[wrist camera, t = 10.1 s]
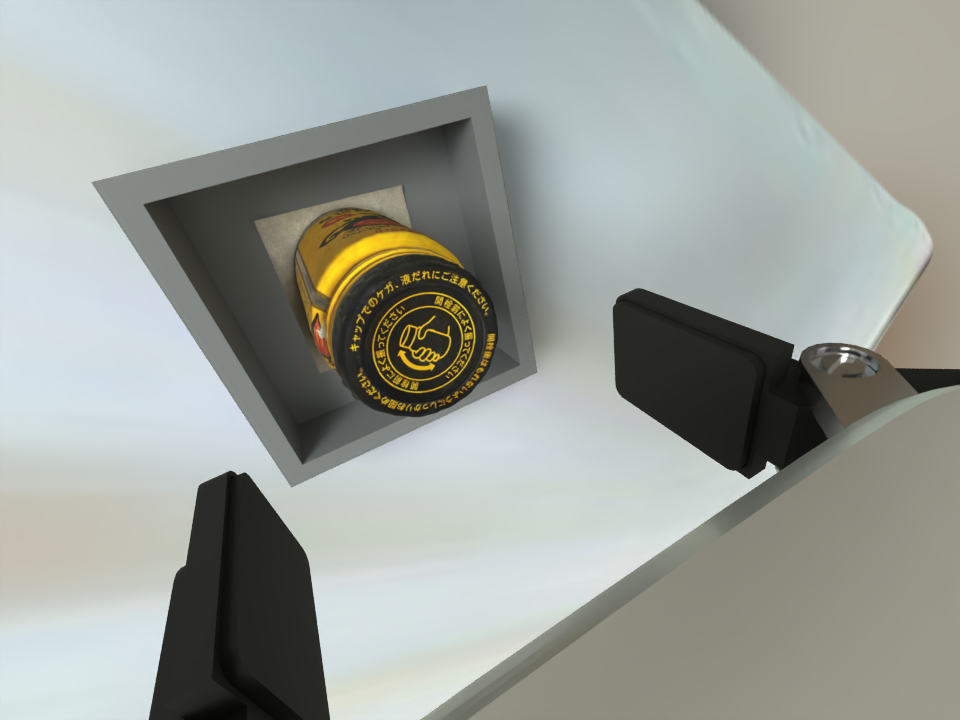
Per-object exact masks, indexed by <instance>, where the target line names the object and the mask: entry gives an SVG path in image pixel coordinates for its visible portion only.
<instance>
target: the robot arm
mask: <svg viewBox="0 0 960 720" xmlns="http://www.w3.org/2000/svg"><path fill="white" fill-rule="evenodd" d="M613 328H614V355H615V382H616V388H617V391H618V393H619V394H620V395H621V396H622V397H623V398H624V399H626V400H627V401H629V402H630V403H632V404H633V405H635V406H636V407H637V408H639V409H640V410H642V411H643V412H645V413H646V414H648V415H649V416H651V417H652V418H654V419H655V420H657V421H658V422H659V423H661V424H662V425H664V426H665V427H667V428H668V429H670V430H671V431H673V432H674V433H676V434H677V435H678V436H680V437H681V438H683V439H684V440H686V441H687V442H689V443H690V444H692V445H693V446H695V447H696V448H698V449H699V450H700V451H702V452H703V453H705V454H706V455H708V456H709V457H711V458H712V459H714V460H715V461H717V462H718V463H720V464H721V465H722V466H724V467H725V468H727V469H729V470H733V471H734V470H736V471H738V472H739V473H741V474H742V475H744V476H745V477H747V478H748V479H750V478H752V477H753V476H755V475H756V474H758V473H759V472H761V471H762V470H764V469H765V467H766V463H767V461H768V462H770V463H772V464H773V465H775V469H776V471H777V473H776V474H775V475H773V476H772V477H771V478H769V479H768V480H766V481H765V482H763V483H762V484H760V485H759V486H757V487H756V488H754V489H753V490H751V491H750V492H748V493H747V494H745V495H744V496H743V497H741V498H740V499H738V500H737V501H735V502H734V503H732V504H731V505H729V506H728V507H726V508H725V509H723V510H722V511H720V512H719V513H717V514H716V515H715V516H713V517H712V518H710V519H709V520H707V521H706V522H704V523H703V524H701V525H700V526H698V527H697V528H696V529H694V530H693V531H691V532H690V533H688V534H687V535H685V536H684V537H682V538H681V539H679V540H678V541H677V542H675V543H674V544H672V545H671V546H669V547H668V548H666V549H665V550H663V551H662V552H661V553H659V554H658V555H656V556H655V557H653V558H652V559H650V560H649V561H647V562H646V563H645V564H643V565H642V566H640V567H639V568H637V569H636V570H634V571H633V572H631V573H630V574H629V575H627V576H626V577H624V578H623V579H621V580H620V581H618V582H617V583H615V584H614V585H613V586H611V587H610V588H608V589H607V590H605V591H604V592H602V593H601V594H599V595H598V596H597V597H595V598H594V599H592V600H591V601H589V602H588V603H586V604H585V605H584V606H582V607H581V608H579V609H578V610H576V611H575V612H573V613H572V614H571V615H569V616H568V617H566V618H565V619H563V620H562V621H560V622H559V623H558V624H556V625H555V626H553V627H552V628H550V629H549V630H547V631H546V632H545V633H543V634H542V635H540V636H539V637H537V638H536V639H535V640H533V641H532V642H530V643H529V644H527V645H526V646H524V647H523V648H522V649H520V650H519V651H517V652H516V653H514V654H513V655H511V656H510V657H509V658H507V659H506V660H504V661H503V662H501V663H500V664H499V665H497V666H496V667H494V668H493V669H491V670H490V671H488V672H487V673H486V674H484V675H483V676H481V677H480V678H478V679H477V680H475V681H474V682H473V683H471V684H470V685H468V686H467V687H465V688H464V689H463V690H461V691H460V692H458V693H457V694H456V695H454V696H453V697H451V698H450V699H449V700H447V701H446V702H444V703H443V704H442V705H440V706H439V707H438V708H436V709H435V710H433V711H432V712H431V713H429V714H428V715H426V716H425V717H424V718H422V719H421V720H960V369H905V368H903V369H902V368H901V369H900V368H894V367H893V366H892V365H891V364H890V363H889V362H888V361H887V360H886V359H885V358H884V357H882V356H881V355H880V354H878V353H875V352H873V351H871V350H869V349H866V348H863V347H859V346H856V345H850V344H844V343H823V344H816V345H813V346H810V347H808V348H806V349H805V350H803V351H802V353H801V356H800V359H799V361H797V360H794V359H792V358H791V357H792V353H793V349H794V345H793V344H791V343H788V342H785V341H783V340H780V339H777V338H774V337H772V336H769V335H766V334H764V333H761V332H758V331H755V330H753V329H750V328H747V327H745V326H742V325H739V324H736V323H734V322H731V321H728V320H726V319H723V318H720V317H718V316H715V315H712V314H709V313H707V312H704V311H701V310H699V309H696V308H693V307H690V306H688V305H685V304H682V303H680V302H677V301H674V300H671V299H669V298H666V297H663V296H661V295H658V294H655V293H653V292H650V291H647V290H644V289H641V288H637V289H634V290H632V291H630V292H628V293H625V294H623V295H621V296H619V297H618V298H617V300H616V304H615V305H614V307H613ZM149 720H330V715H329V708H328V701H327V693H326V686H325V678H324V671H323V663H322V656H321V649H320V641H319V634H318V626H317V619H316V612H315V604H314V597H313V589H312V582H311V575H310V567H309V562H308V559H307V556H306V553H305V551H304V550H303V548H302V547H301V545H300V544H299V543H298V541H297V540H296V539H295V537H294V536H293V534H292V533H291V532H290V530H289V529H288V528H287V526H286V525H285V524H284V522H283V521H282V520H281V518H280V517H279V515H278V514H277V513H276V511H275V510H274V509H273V507H272V506H271V505H270V503H269V502H268V501H267V499H266V498H265V496H264V495H263V494H262V492H261V491H260V490H259V488H258V487H257V486H256V484H255V483H254V482H253V480H252V479H251V478H250V476H249V475H248V474H247V473H242V474H239V475H237V474H236V473H235V472H233V471H229V472H226V473H224V474H222V475H220V476H217V477H215V478H213V479H211V480H209V481H206V482H204V483H202V484H201V485H199V488H198V492H197V498H196V505H195V511H194V517H193V524H192V530H191V536H190V543H189V549H188V555H187V561H186V566H184V567H182V568H180V570H179V571H178V572H177V573H176V576H175V579H174V583H173V589H172V594H171V600H170V605H169V611H168V616H167V622H166V627H165V633H164V638H163V644H162V650H161V655H160V661H159V666H158V672H157V677H156V683H155V688H154V694H153V699H152V705H151V711H150V716H149Z"/></svg>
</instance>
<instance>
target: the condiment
mask: <svg viewBox="0 0 960 720" xmlns="http://www.w3.org/2000/svg"><path fill="white" fill-rule="evenodd" d="M254 222H255V225H256V227H257V229H258V232H259V234H260V236H261V238H262V241H263V243H264V245H265V248H266V250H267V252H268V254H269V257H270V259H271V261H272V264H273V266H274V268H275V271H276V273H277V275H278V277H279V280H280V282H281V284H282V287H283V289H284V291H285V294H286V296H287V298H288V301H289V303H290V306H291V307H292V310H293V312H294V315H295V317H296V319H297V321H298V324H299V326H300V328H301V331H302V333H303V335H304V337H305V340H306V343H307V345H308V347H309V349H310V351H311V354H312V356H313V359H314V361H315V363H316V365H317V368H318V370H319V372H320V373H323V372H325V371H328V370H331V369H333V370H334V371H336V372H337V373H338V374H339V376H340V377H341V379H342V383H343V385H344V386H345V387H346V388H348V389H349V390H350V391H351V393H352V396H353V397H354V399H356V400H360V401H361V402H362V403H363V404H364V405H366V406H368V407H369V408H371V409H373V410H375V411H378V412H382V413H387V414H391V415H394V416H406V417H424V416H427V415H431V414H434V413H437V412H439V411H441V410H444V409H447V408H450V407H452V406H453V405H455V404H456V403H458V402H459V401H460V400H462V399H463V398H465V397H467V396H468V395H469V394H470V393H471V392H472V391H473V390H474V388H475V387H476V386H477V385H478V384H479V382H480V381H481V380H482V379H483V377H484V376H485V374H486V373H487V371H488V369H489V368H490V365H491V361H492V358H493V355H494V352H495V348H496V345H497V343H498V326H497V315H496V313H495V310H494V305H493V302H492V300H491V298H490V296H489V295H488V293H487V292H486V291H485V290H484V289H483V287H482V285H481V282H480V281H479V280H477V279H476V278H475V277H474V276H473V275H471V273H470V272H469V271H467V270H466V269H464V268H463V266H462V265H461V264H460V262H459V261H458V259H457V258H456V257H455V256H454V255H453V254H452V253H451V252H450V251H449V250H448V249H447V248H445V247H444V246H443V245H441V244H439V243H438V242H437V241H436V240H434V239H433V238H432V237H429V236H427V235H425V234H423V233H421V232H418V231H415V230H412V226H411V222H410V218H409V213H408V210H407V206H406V202H405V198H404V194H403V189H402V185H399V186H395V187H391V188H387V189H383V190H378V191H374V192H370V193H366V194H362V195H357V196H353V197H349V198H345V199H341V200H337V201H332V202H329V203H324V204H320V205H316V206H312V207H308V208H304V209H300V210H296V211H291V212H289V213H284V214H280V215H276V216H272V217H268V218H263V219H259V220H255V221H254Z"/></svg>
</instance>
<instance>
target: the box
mask: <svg viewBox="0 0 960 720" xmlns="http://www.w3.org/2000/svg"><path fill="white" fill-rule="evenodd" d="M92 184H93V185H94V187H95V188H96V190H97V191H98V193H99V195H100V196H101V198H102V199H103V201H104V202H105V204H106V205H107V207H108V208H109V210H110V211H111V213H112V214H113V216H114V217H115V219H116V220H117V222H118V224H119V225H120V227H121V228H122V230H123V231H124V233H125V234H126V236H127V237H128V239H129V240H130V242H131V243H132V245H133V246H134V248H135V249H136V251H137V253H138V254H139V256H140V257H141V259H142V260H143V262H144V263H145V265H146V266H147V268H148V269H149V271H150V272H151V274H152V275H153V277H154V278H155V280H156V281H157V283H158V285H159V286H160V288H161V289H162V291H163V292H164V294H165V295H166V297H167V298H168V300H169V301H170V303H171V304H172V306H173V307H174V309H175V310H176V312H177V314H178V315H179V317H180V318H181V320H182V321H183V323H184V324H185V326H186V327H187V329H188V330H189V332H190V333H191V335H192V336H193V338H194V339H195V341H196V343H197V344H198V346H199V347H200V349H201V350H202V352H203V353H204V355H205V356H206V358H207V359H208V361H209V362H210V364H211V365H212V367H213V368H214V370H215V372H216V373H217V375H218V376H219V378H220V379H221V381H222V382H223V384H224V385H225V387H226V388H227V390H228V391H229V393H230V394H231V396H232V397H233V399H234V400H235V402H236V404H237V405H238V407H239V408H240V410H241V411H242V413H243V414H244V416H245V417H246V419H247V420H248V422H249V423H250V425H251V426H252V428H253V429H254V431H255V433H256V434H257V436H258V437H259V439H260V440H261V442H262V443H263V445H264V446H265V448H266V449H267V451H268V452H269V454H270V455H271V457H272V458H273V460H274V462H275V463H276V465H277V466H278V468H279V469H280V471H281V472H282V474H283V475H284V477H285V478H286V480H287V481H288V483H289V484H290V486H291V487H293V486H296V485H298V484H300V483H302V482H304V481H306V480H308V479H310V478H313V477H315V476H317V475H319V474H321V473H323V472H325V471H328V470H330V469H332V468H334V467H336V466H338V465H340V464H342V463H345V462H347V461H349V460H351V459H353V458H355V457H357V456H360V455H362V454H364V453H366V452H368V451H370V450H372V449H374V448H377V447H379V446H381V445H383V444H385V443H387V442H389V441H392V440H394V439H396V438H398V437H400V436H402V435H404V434H407V433H409V432H411V431H413V430H415V429H417V428H419V427H421V426H424V425H426V424H428V423H430V422H432V421H434V420H436V419H439V418H441V417H443V416H445V415H447V414H449V413H451V412H453V411H456V410H458V409H460V408H462V407H464V406H466V405H468V404H471V403H473V402H475V401H477V400H479V399H481V398H483V397H485V396H488V395H490V394H492V393H494V392H496V391H498V390H500V389H503V388H505V387H507V386H509V385H511V384H513V383H515V382H517V381H520V380H522V379H524V378H526V377H528V376H530V375H532V374H535V373H537V367H536V361H535V356H534V350H533V344H532V339H531V333H530V328H529V322H528V316H527V311H526V305H525V299H524V294H523V288H522V283H521V277H520V271H519V266H518V260H517V254H516V249H515V243H514V238H513V232H512V226H511V221H510V215H509V209H508V204H507V198H506V193H505V187H504V181H503V176H502V170H501V164H500V159H499V153H498V148H497V142H496V136H495V131H494V125H493V119H492V114H491V108H490V102H489V97H488V91H487V86H482V87H478V88H474V89H470V90H466V91H462V92H458V93H453V94H449V95H445V96H441V97H437V98H433V99H429V100H425V101H421V102H417V103H413V104H409V105H405V106H400V107H396V108H392V109H388V110H384V111H380V112H376V113H372V114H368V115H364V116H360V117H356V118H352V119H348V120H343V121H339V122H335V123H331V124H327V125H323V126H319V127H315V128H311V129H307V130H303V131H299V132H295V133H290V134H286V135H282V136H278V137H274V138H270V139H266V140H262V141H258V142H254V143H250V144H246V145H242V146H237V147H233V148H229V149H225V150H221V151H217V152H213V153H209V154H205V155H201V156H197V157H193V158H189V159H184V160H180V161H176V162H172V163H168V164H164V165H160V166H156V167H152V168H148V169H144V170H140V171H136V172H131V173H127V174H123V175H119V176H115V177H111V178H107V179H103V180H99V181H95V182H92ZM399 185H402V189H403V194H404V198H405V202H406V206H407V210H408V213H409V218H410V222H411V226H412V230H415V231H418V232H421V233H423V234H425V235H427V236H429V237H432V238H433V239H434V240H436V241H437V242H438V243H439V244H441V245H443V246H444V247H445V248H447V249H448V250H449V251H450V252H451V253H452V254H453V255H454V256H455V257H456V258H457V259H458V261H459V262H460V264H461V265H462V266H463V268H464V269H466V270H467V271H469V272H470V273H471V275H473V276H474V277H475V278H476V279H477V280H479V281H480V282H481V285H482V287H483V289H484V290H485V291H486V292H487V293H488V295H489V296H490V298H491V300H492V302H493V305H494V310H495V313H496V315H497V326H498V343H497V345H496V348H495V352H494V355H493V358H492V361H491V365H490V368H489V369H488V371H487V373H486V374H485V376H484V377H483V379H482V380H481V381H480V382H479V384H478V385H477V386H476V387H475V388H474V390H473V391H472V392H471V393H470V394H469V395H468V396H467V397H465V398H463V399H462V400H460V401H459V402H458V403H456V404H455V405H453V406H452V407H450V408H447V409H444V410H441V411H439V412H437V413H434V414H431V415H427V416H424V417H406V416H394V415H391V414H387V413H382V412H378V411H375V410H373V409H371V408H369V407H368V406H366V405H364V404H363V403H362V402H361V401H360V400H356V399H354V397H353V396H352V393H351V391H350V390H349V389H348V388H346V387H345V386H344V385H343V383H342V379H341V377H340V376H339V374H338V373H337V372H336V371H334V370H333V369H331V370H328V371H325V372H323V373H320V372H319V370H318V368H317V365H316V363H315V361H314V359H313V356H312V354H311V351H310V349H309V347H308V345H307V343H306V340H305V337H304V335H303V333H302V331H301V328H300V326H299V324H298V321H297V319H296V317H295V315H294V312H293V310H292V307H291V306H290V303H289V301H288V298H287V296H286V294H285V291H284V289H283V287H282V284H281V282H280V280H279V277H278V275H277V273H276V271H275V268H274V266H273V264H272V261H271V259H270V257H269V254H268V252H267V250H266V248H265V245H264V243H263V241H262V238H261V236H260V234H259V232H258V229H257V227H256V225H255V222H254V221H255V220H259V219H263V218H268V217H272V216H276V215H280V214H284V213H289V212H291V211H296V210H300V209H304V208H308V207H312V206H316V205H320V204H324V203H329V202H332V201H337V200H341V199H345V198H349V197H353V196H357V195H362V194H366V193H370V192H374V191H378V190H383V189H387V188H391V187H395V186H399Z"/></svg>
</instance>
